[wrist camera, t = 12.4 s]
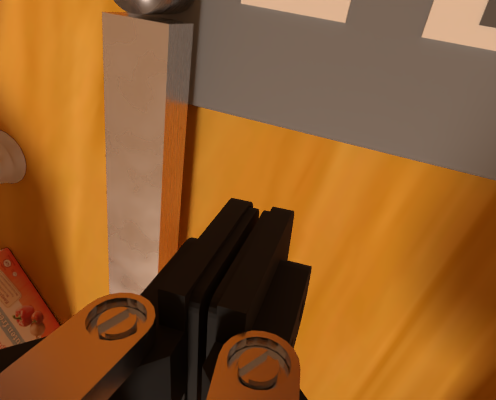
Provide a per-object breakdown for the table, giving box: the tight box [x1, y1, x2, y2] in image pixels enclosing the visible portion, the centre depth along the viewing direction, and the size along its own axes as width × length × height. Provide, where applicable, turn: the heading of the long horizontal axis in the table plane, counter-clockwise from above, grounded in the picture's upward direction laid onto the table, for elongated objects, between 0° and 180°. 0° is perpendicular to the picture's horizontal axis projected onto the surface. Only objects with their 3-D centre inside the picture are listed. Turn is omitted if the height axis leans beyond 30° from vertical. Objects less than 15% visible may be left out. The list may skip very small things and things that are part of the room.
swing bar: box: [102, 0, 194, 295], centre depth 26 cm, size 4×24×4 cm, turn 172°
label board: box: [144, 0, 496, 180], centre depth 21 cm, size 15×26×1 cm, turn 81°
